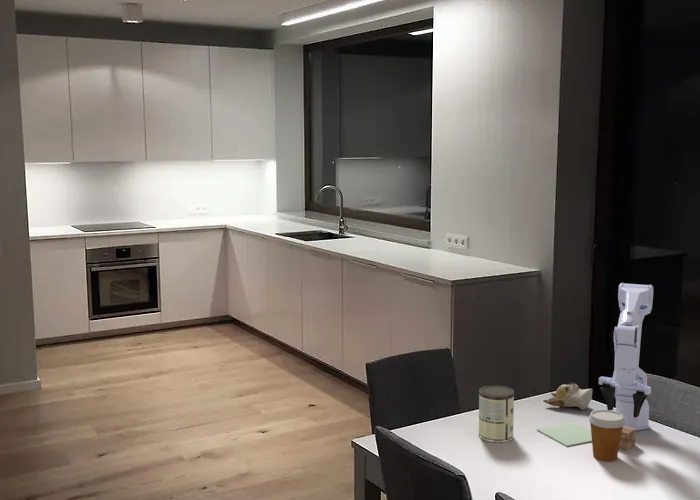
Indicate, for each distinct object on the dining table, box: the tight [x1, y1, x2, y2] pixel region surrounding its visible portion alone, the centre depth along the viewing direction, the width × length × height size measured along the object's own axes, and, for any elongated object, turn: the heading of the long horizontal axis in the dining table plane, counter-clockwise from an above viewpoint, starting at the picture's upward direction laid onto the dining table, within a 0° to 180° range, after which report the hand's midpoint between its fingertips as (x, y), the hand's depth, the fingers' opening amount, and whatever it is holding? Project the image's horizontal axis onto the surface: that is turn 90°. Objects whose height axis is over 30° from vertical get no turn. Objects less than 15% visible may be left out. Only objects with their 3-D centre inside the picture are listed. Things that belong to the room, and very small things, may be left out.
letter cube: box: [619, 426, 637, 451], centre depth 218 cm, size 5×5×5 cm
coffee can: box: [478, 384, 515, 444], centre depth 225 cm, size 10×10×14 cm
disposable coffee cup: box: [588, 409, 625, 462], centre depth 210 cm, size 10×10×12 cm
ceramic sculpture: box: [542, 381, 593, 411], centre depth 251 cm, size 11×9×15 cm
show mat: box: [536, 421, 592, 447], centre depth 227 cm, size 14×14×1 cm
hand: (623, 413), depth 217 cm, fingers open, 7 cm apart
